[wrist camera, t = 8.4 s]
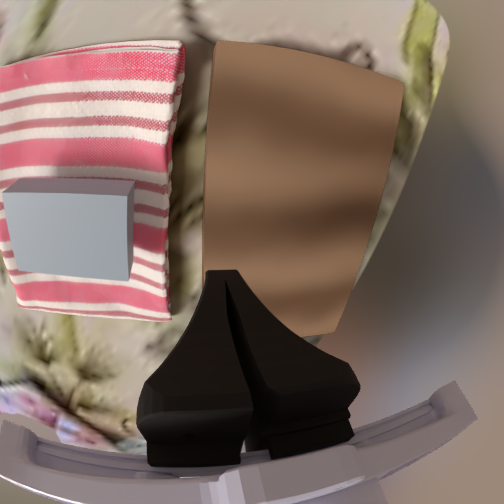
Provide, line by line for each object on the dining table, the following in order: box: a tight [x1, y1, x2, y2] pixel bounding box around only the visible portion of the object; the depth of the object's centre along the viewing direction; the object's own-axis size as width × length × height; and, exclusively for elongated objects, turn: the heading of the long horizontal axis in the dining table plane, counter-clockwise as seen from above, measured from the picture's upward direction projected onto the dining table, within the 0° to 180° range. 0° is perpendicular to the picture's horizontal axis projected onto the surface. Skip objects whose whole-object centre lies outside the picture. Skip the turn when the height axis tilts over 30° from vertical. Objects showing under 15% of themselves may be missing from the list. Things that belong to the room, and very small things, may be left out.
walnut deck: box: [202, 40, 405, 337], centre depth 20 cm, size 22×12×4 cm, turn 174°
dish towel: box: [0, 40, 185, 322], centre depth 17 cm, size 17×23×4 cm
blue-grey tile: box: [2, 178, 135, 281], centre depth 15 cm, size 6×9×2 cm, turn 78°
